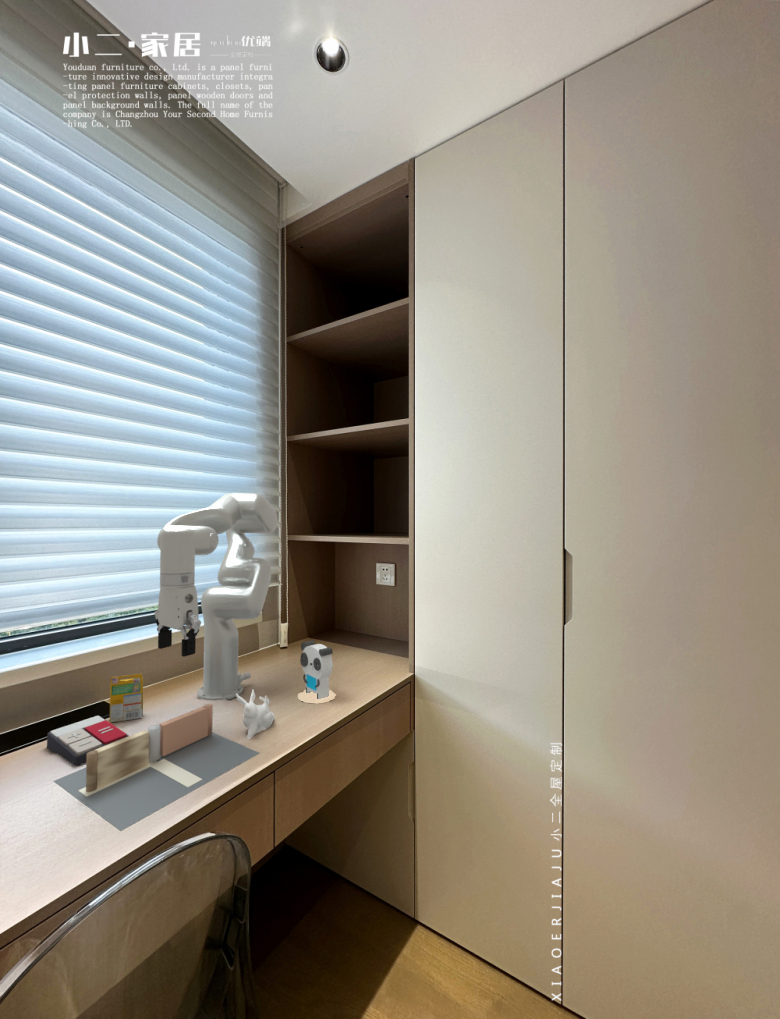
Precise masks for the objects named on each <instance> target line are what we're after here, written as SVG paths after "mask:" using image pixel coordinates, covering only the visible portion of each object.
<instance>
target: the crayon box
mask: <svg viewBox="0 0 780 1019" xmlns="http://www.w3.org/2000/svg"><path fill="white" fill-rule="evenodd" d="M109 692H110V693H109V722H110V723H111V722H113V723H117V722H124V721H130V720H137V719H142V718H143V714H144V707H143V706H144V677H143V673H142V672H141V673H134V674H126V675H125V674H124V675H118V676H117V675H116V676H111V677H110V685H109ZM111 724H112V723H111Z"/></svg>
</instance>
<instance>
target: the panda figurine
mask: <svg viewBox="0 0 780 1019" xmlns="http://www.w3.org/2000/svg"><path fill="white" fill-rule="evenodd" d="M300 649H301V651H302V652H301V654H300V659H299V662H300V664H301V667H302V670H303V673H304V674H303V676H302V678H303V681H304V683H305V689H306V693H310V692H313V693H316V694H317V699H321V698H325V697H328V696H329V689H330V687H329V686H330V685H329V684H330V679H329V678H330V676H331V674H332V672H333V656H332V655H333V652H334V651H333V648H332V647H330V646H329V647H327V646H326V645H324V644H322V643H315V641H314V640H309V641H308V640H307V641H303V642H301V644H300Z"/></svg>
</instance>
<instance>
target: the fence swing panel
mask: <svg viewBox="0 0 780 1019" xmlns="http://www.w3.org/2000/svg"><path fill="white" fill-rule="evenodd" d="M213 708H214V706H213V704H211V703H209V704H208V703H207V704H205V705H203V706H201V707H198V708H196V709H192V710H191V711H189V712H185V713H183V714H181V715H178V716H176V717H173V718H171V719H168V720H165V721H163V722H160V723H158V724H153V725H150V726H149V727H147V731H148V732H149V758H148V761H149V762H153V761H156V760H158V759H159V758H160V755H161V756H165V755H167V754H169V753H172V752H174V751H176V750H178V749H180V748H182V747H184V746H187V745H189V744H191V743H193V742H195V741H197V740H200V739H202V738H204V737H206V736H209V735H211V734H212V732H213V715H214V712H213V711H214V710H213Z"/></svg>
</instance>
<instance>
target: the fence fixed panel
mask: <svg viewBox="0 0 780 1019" xmlns="http://www.w3.org/2000/svg"><path fill="white" fill-rule="evenodd" d="M148 758H149V732H148V730H145V729H143V730H141V731H139V732H137V733H134V734H131V735H129V736H128V737H126V738H123V739H121V740H118V741H116V742H113V743H111V744H108V745H106V746H103V747H101V748H98V749H96V750H94V751H90V752H88V753H87V762H86V763H85V764H86V767H85V768H86V792H92V791H94V790H96V789H98V788H100V787H102V786H104V785H107V784H109V783H111V782H113V781H115V780H117V779H120V778H122V777H124V776H126V775H128V774H130V773H132V772H135V771H137V770H139V769H141V768H143V767H145V766H147V765H148Z"/></svg>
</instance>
